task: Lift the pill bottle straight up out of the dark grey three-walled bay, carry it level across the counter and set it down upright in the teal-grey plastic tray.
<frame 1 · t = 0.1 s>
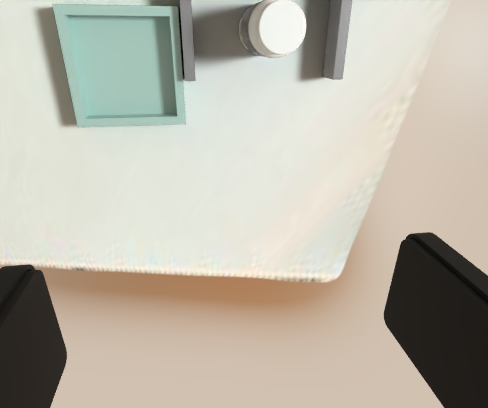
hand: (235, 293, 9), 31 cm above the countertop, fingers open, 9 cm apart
tray: (128, 67, 34), on the countertop
pill bottle: (261, 30, 35), on the countertop
bay: (261, 18, 34), on the countertop
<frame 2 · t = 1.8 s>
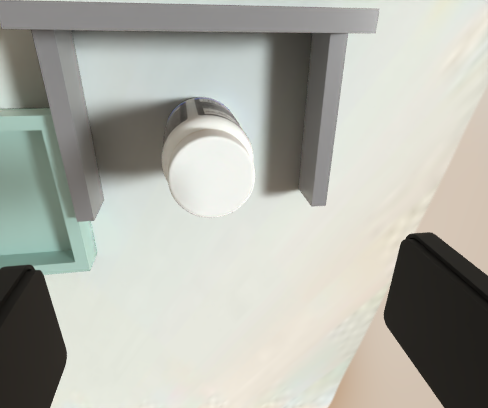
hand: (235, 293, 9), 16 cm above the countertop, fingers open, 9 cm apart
pill bottle: (202, 131, 23), on the countertop
bay: (201, 117, 22), on the countertop
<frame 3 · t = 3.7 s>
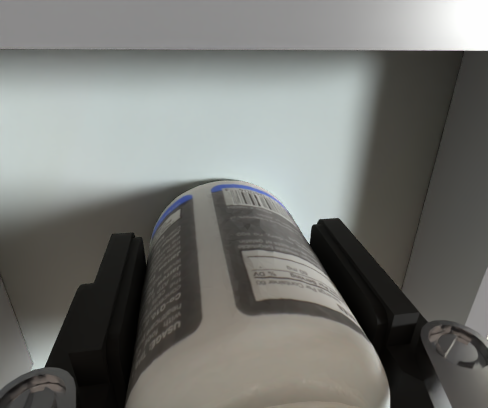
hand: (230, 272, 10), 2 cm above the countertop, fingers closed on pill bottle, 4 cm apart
pill bottle: (224, 239, 12), on the countertop, touching gripper
bay: (224, 215, 11), on the countertop
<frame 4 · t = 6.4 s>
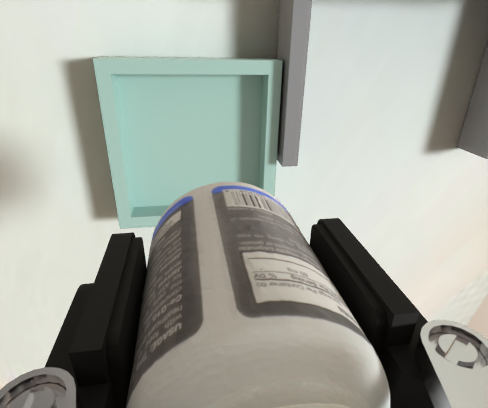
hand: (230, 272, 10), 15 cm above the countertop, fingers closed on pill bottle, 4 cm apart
tray: (194, 141, 24), on the countertop
pill bottle: (224, 240, 12), point 13 cm above the countertop, touching gripper
bay: (388, 72, 24), on the countertop
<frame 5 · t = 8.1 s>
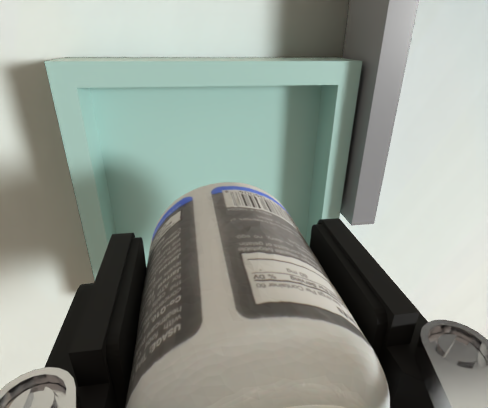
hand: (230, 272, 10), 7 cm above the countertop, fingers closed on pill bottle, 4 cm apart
tray: (213, 182, 16), on the countertop
pill bottle: (224, 240, 12), point 5 cm above the countertop, touching gripper
when the fingers open (3 cm above the countertop, at t = 9.5 s): pill bottle drops 1 cm, resting on tray.
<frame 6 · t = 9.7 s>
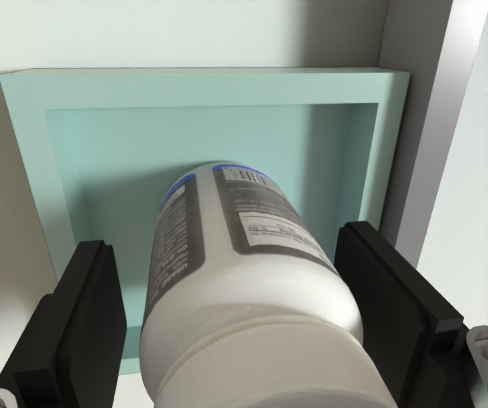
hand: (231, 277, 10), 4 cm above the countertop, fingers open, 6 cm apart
tray: (219, 216, 13), on the countertop
pill bottle: (224, 217, 13), resting on tray
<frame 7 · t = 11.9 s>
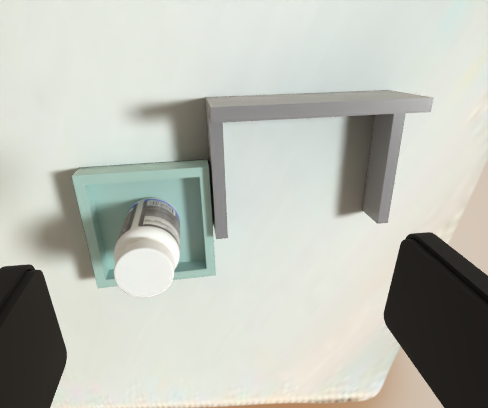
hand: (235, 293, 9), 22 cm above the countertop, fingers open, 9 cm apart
tray: (152, 219, 31), on the countertop
pill bottle: (153, 219, 31), resting on tray
bay: (297, 162, 31), on the countertop
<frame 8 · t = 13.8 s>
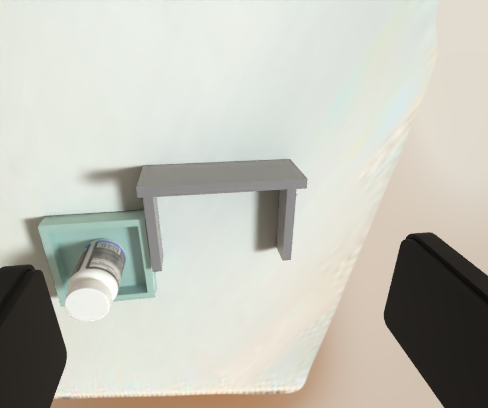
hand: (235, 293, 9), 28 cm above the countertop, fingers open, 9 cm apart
tray: (105, 253, 40), on the countertop
pill bottle: (105, 254, 39), resting on tray
bay: (220, 211, 40), on the countertop
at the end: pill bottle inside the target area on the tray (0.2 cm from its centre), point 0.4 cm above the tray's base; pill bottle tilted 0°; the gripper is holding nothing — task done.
